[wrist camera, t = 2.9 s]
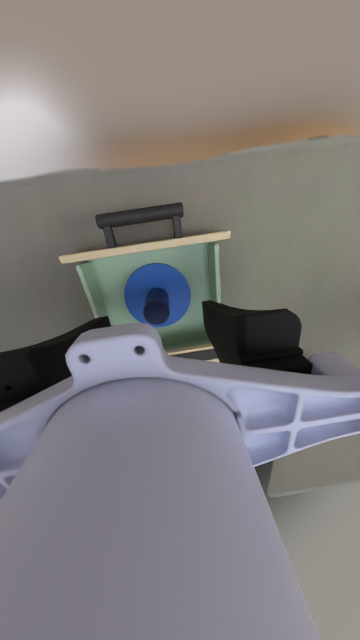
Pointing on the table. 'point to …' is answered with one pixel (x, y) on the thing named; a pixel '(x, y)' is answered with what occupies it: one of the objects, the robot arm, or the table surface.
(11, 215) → the table surface
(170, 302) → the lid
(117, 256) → the wooden drawer
